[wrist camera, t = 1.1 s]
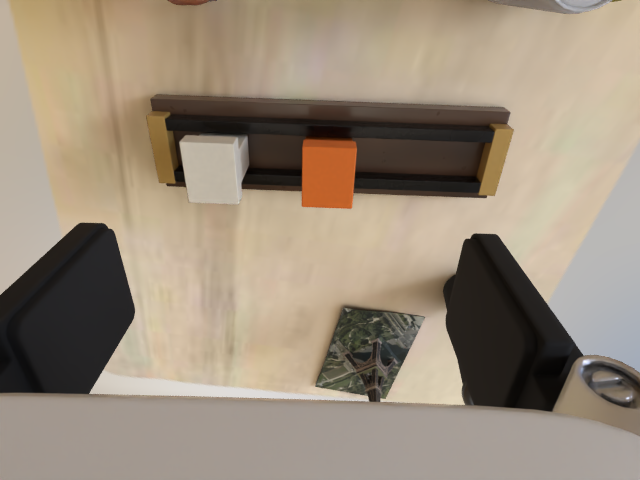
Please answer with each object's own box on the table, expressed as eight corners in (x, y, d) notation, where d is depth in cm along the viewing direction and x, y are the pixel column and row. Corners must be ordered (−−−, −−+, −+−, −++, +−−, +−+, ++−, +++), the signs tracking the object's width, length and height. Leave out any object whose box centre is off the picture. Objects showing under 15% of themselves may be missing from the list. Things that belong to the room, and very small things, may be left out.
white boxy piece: (199, 119, 35) (178, 141, 30) (246, 121, 35) (233, 143, 30) (206, 174, 37) (188, 202, 33) (250, 176, 37) (238, 204, 33)
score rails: (152, 110, 35) (145, 115, 33) (507, 124, 35) (514, 129, 33) (164, 176, 38) (158, 183, 36) (489, 188, 38) (495, 195, 36)
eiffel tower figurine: (341, 302, 47) (345, 402, 36) (425, 317, 48) (453, 419, 37) (315, 384, 55) (311, 487, 44) (387, 395, 56) (401, 499, 45)
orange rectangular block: (305, 123, 35) (302, 146, 30) (353, 125, 35) (357, 148, 30) (305, 178, 37) (301, 207, 33) (349, 179, 37) (352, 209, 33)
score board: (156, 94, 35) (149, 98, 34) (504, 107, 35) (510, 112, 34) (171, 179, 40) (166, 186, 38) (481, 191, 40) (486, 198, 38)
